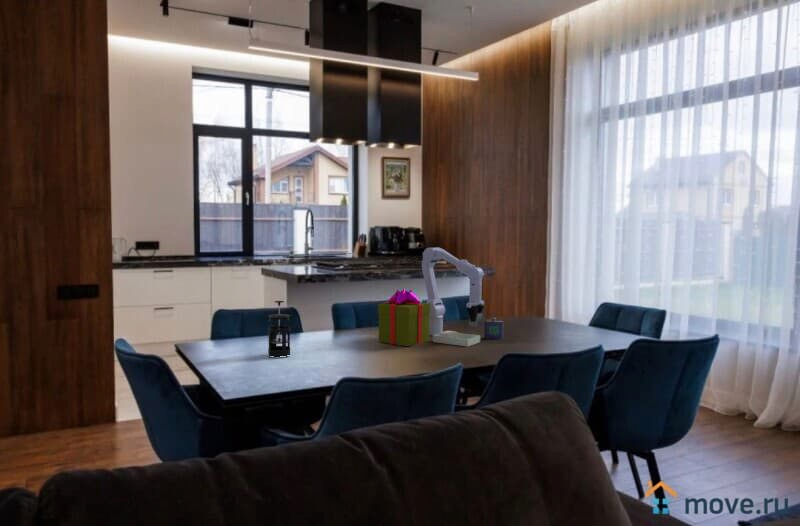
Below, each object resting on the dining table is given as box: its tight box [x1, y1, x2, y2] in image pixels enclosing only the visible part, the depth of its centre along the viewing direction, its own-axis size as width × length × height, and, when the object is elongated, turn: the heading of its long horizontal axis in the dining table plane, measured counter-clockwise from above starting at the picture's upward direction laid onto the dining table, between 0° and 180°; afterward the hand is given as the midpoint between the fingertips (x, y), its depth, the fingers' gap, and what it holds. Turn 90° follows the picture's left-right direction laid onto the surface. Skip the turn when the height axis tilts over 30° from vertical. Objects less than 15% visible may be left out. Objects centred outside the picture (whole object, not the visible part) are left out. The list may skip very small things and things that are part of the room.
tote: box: [432, 332, 482, 347], centre depth 270 cm, size 18×13×4 cm
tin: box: [468, 312, 483, 327], centre depth 276 cm, size 5×5×6 cm
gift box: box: [377, 288, 430, 347], centre depth 270 cm, size 21×21×25 cm
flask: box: [483, 317, 504, 340], centre depth 280 cm, size 9×3×11 cm, turn 88°
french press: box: [267, 300, 291, 357], centre depth 239 cm, size 12×9×23 cm
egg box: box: [439, 330, 458, 338], centre depth 272 cm, size 5×8×4 cm, turn 146°
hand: (475, 321), depth 276 cm, fingers closed on tin, 4 cm apart
